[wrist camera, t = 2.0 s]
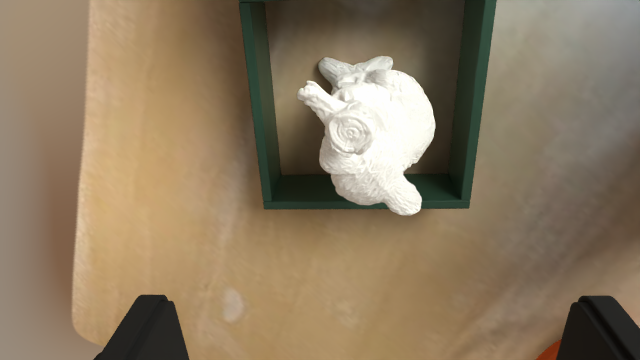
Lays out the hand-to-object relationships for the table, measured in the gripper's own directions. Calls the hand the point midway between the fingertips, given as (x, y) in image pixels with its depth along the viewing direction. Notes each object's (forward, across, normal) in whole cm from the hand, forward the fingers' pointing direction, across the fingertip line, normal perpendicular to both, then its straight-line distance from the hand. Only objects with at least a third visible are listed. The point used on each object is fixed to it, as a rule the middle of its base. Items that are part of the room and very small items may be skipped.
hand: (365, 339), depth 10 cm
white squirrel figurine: (+20, -1, -1) cm, 20 cm away
